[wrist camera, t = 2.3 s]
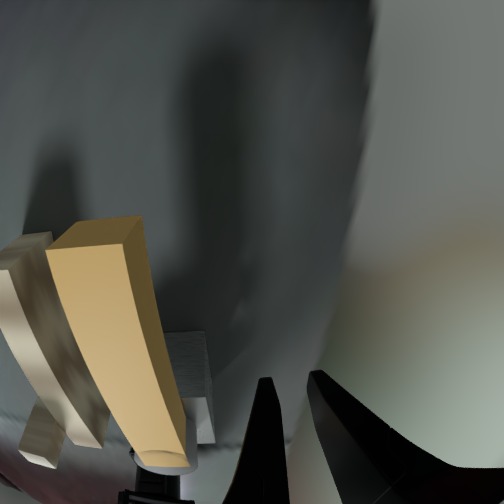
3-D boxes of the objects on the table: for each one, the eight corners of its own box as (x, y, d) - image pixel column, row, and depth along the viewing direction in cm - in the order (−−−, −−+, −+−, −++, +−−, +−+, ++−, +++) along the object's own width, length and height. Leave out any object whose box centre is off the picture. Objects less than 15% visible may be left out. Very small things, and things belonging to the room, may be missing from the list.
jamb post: (212, 380, 25) (215, 442, 19) (147, 382, 25) (138, 442, 18) (204, 330, 23) (205, 397, 17) (130, 333, 22) (113, 397, 16)
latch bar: (200, 440, 18) (201, 475, 16) (147, 440, 18) (144, 473, 15) (153, 213, 12) (137, 242, 9) (67, 222, 11) (34, 251, 8)
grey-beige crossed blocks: (113, 400, 25) (96, 484, 16) (64, 396, 25) (40, 471, 16) (51, 231, 18) (-30, 308, 9) (-4, 238, 17) (-81, 304, 8)
